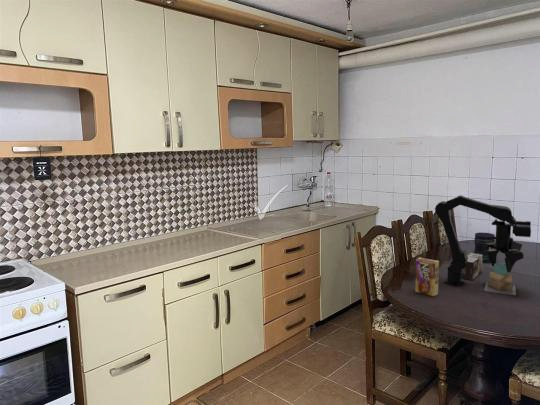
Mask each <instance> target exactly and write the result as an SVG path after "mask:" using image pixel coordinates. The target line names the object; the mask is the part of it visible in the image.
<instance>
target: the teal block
mask: <svg viewBox="0 0 540 405" xmlns="http://www.w3.org/2000/svg"><path fill="white" fill-rule="evenodd" d="M493 271H494V273H497V274H499V275H505V274H508V272H507V269H506V263H503V262H498V263H497V262H496V264H494V266H493Z"/></svg>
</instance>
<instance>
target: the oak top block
mask: <svg viewBox="0 0 540 405" xmlns="http://www.w3.org/2000/svg"><path fill="white" fill-rule="evenodd" d="M512 276H513V275H512V274H511V273H510V272H509V273H508V274H505V275H499V274H497V273H494V270H492V271H490V272H489V279H491V280H493V281H495V282H497V283H509V282H513V281H512V278H513V277H512Z"/></svg>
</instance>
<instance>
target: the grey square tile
mask: <svg viewBox="0 0 540 405" xmlns="http://www.w3.org/2000/svg"><path fill="white" fill-rule="evenodd" d="M516 289H517V288H516V285H513V290H509V291H497V290H495V289H493V288H491V287H488V281H485V285H484V289H483V290H484V292H488V293H496V294H502V295H509V296H516V295H517V291H516Z"/></svg>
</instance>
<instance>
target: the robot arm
mask: <svg viewBox="0 0 540 405" xmlns="http://www.w3.org/2000/svg"><path fill="white" fill-rule="evenodd" d="M459 206H463V207H465V208H469V209H473V210H475V211H479V212H482V213H485V214H487V215H490V216H492V217H493V218H495V219H494V220H493V221H492V222H491V226H495V237H493V239H494V240H495V242H494V243H493V242H492V243H484V244H483V247H482V249H484V251H485V252H486V254H487V256H488V258H489V260H490V262H491V263H490V264H491V266H492V267H494V264H496V263H497V259H498V258H497V257H498V256H497V255H498V254H499V253H502V254H504V256H505V257H504V264H506V269H507V272H508V273H509V274H510V273H511V272H512V270H513V267H514V266H515V263H517V262H518V261H521V260H522V259H524V256H525V254H524V253H523V251H521V250H522V247H523V244H522V243H520V242H516V241H514V238H513V237H511V233H512V234H514V236H515V237H520V238H521V237H522V238H531V235H532V228H531V227H532V226H531V224H532V223H531V221H528V220H526V221H521V220H516V218H515V217H514V216H513V213H512V210H511V208H510V207H509V206H505V205H499V204H497V205H496V204H489V203H486V202H482V201H480V200H476V199H472V198H469V197H466V196H464V195H461V194H460V195H457V196H456V197H454V198H451V199H449V200H447V201H444V200H442V201H440V202H438V203H437V204H436V205H435V207H434V211H435V213H436V215H437V217H438V219H439V221H441V223H442V225H443V228H444V232H445V236H446V238H447V241H448V244H449V247H450V251H451V261H450V262H449V264H448V266H447V268H446V269H447V276H446V277H447V278H446V280H444V283H447V284H450V285H452V286H456V287H457V286H459V285H463V284H466V282H465V281H463V278H462V270H461V269H464V268H465V266H466V264H467V260H468V257H467V255H468V254H467V251H466V249H465V250H463V249H462V248H461V246H460V242H459V240H458V237H457V234H456V231H455V230H456V229H455V228H454V224H453V221H452V213H451V212H452V210H453V209H455V208H457V207H459Z"/></svg>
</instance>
